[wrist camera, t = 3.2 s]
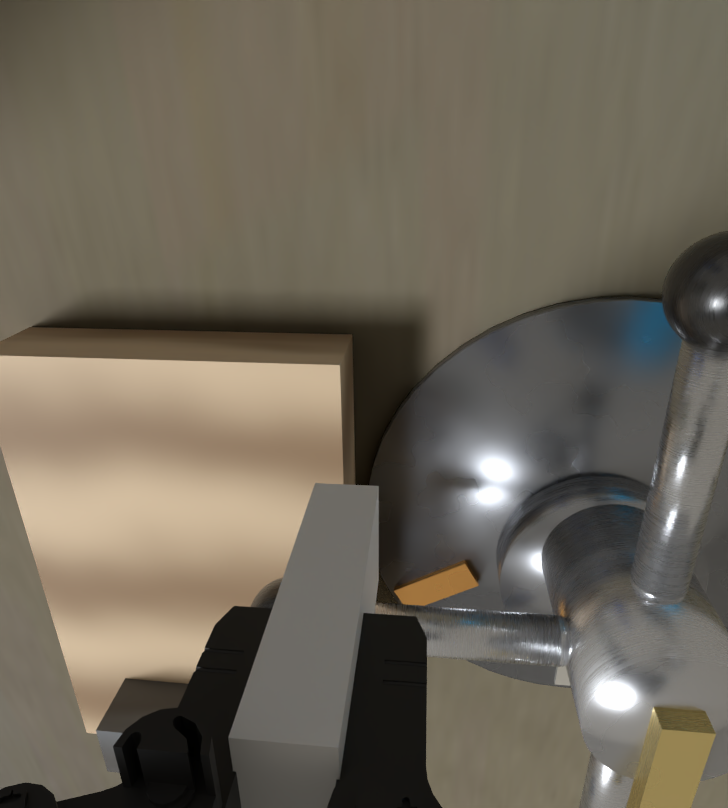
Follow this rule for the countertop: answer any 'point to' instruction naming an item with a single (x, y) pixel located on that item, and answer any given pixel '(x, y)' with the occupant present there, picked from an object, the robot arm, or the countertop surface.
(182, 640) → the stand
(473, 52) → the countertop surface
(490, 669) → the base plate
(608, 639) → the capstan
